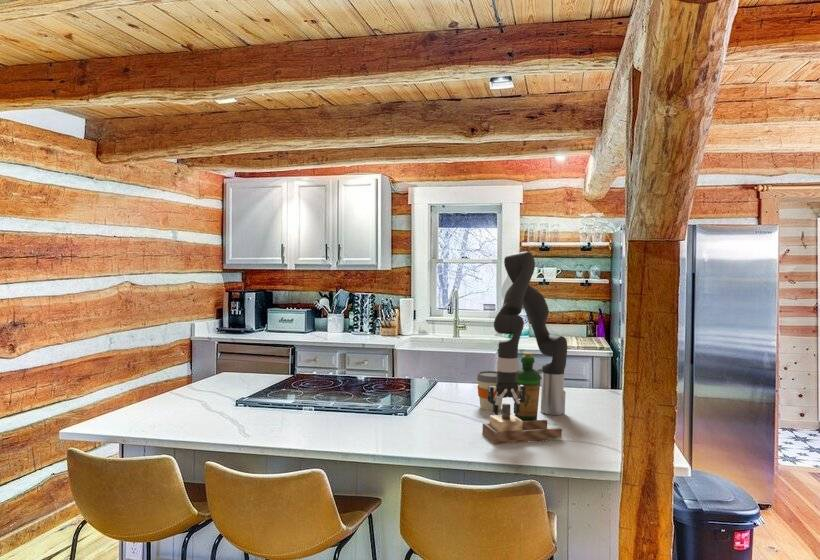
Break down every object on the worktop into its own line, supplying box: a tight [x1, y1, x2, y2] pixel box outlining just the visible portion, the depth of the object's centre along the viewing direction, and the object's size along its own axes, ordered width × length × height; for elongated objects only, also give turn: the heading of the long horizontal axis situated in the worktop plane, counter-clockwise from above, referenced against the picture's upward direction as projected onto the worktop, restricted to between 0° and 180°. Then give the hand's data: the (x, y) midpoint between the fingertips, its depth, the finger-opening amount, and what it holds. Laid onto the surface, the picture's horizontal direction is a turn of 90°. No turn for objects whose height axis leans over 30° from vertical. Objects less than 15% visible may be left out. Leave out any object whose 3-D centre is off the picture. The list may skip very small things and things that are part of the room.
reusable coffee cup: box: [476, 370, 504, 411], centre depth 260 cm, size 13×13×15 cm
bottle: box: [514, 351, 542, 421], centre depth 238 cm, size 11×11×28 cm
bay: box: [482, 419, 563, 445], centre depth 220 cm, size 26×12×4 cm, turn 105°
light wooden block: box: [488, 403, 523, 432], centre depth 218 cm, size 9×9×11 cm
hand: (505, 414), depth 218 cm, fingers open, 7 cm apart
